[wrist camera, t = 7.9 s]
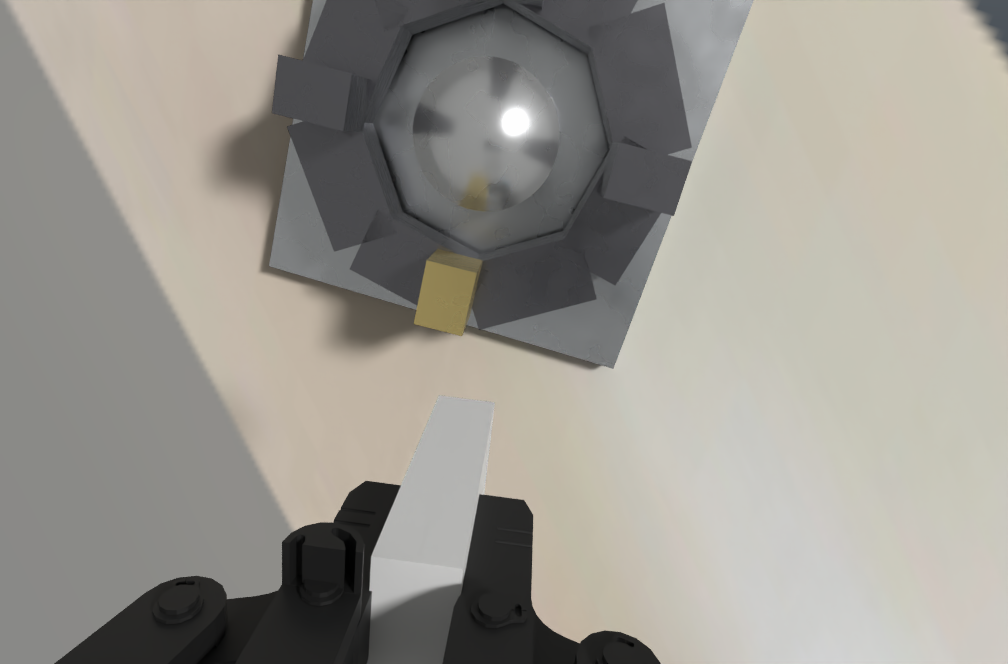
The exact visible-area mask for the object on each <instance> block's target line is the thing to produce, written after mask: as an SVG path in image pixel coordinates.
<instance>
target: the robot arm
mask: <svg viewBox="0 0 1008 664" xmlns="http://www.w3.org/2000/svg"><path fill="white" fill-rule="evenodd" d="M494 405H495V402H487V401H479V400H472V399H464V398H456V397H448V396H440V395H439V397H438V399H437V401H436V404H435V406H434V409H433V411H432V413H431V416H430V418H429V420H428V423H427V425H426V428H425V430H424V432H423V435H422V437H421V439H420V442H419V444H418V446H417V449H416V451H415V454H414V456H413V458H412V461H411V463H410V465H409V468H408V470H407V473H406V475H405V477H404V480H403V482H402V484H401V485H393V484H386V483H378V482H371V481H365V482H364V483H362V484H361V485H359V486H358V487H357V488H355V489H354V490H352V491H351V492H349V494H348V496H347V498H346V500H345V501H344V503H343V505H342V507H341V510H339V512H338V514H337V515H336V517H335V519H334V523H316V524H312V525H307V526H304V527H302V528H300V529H298V530H296V531H294V532H292V533H291V534H290V535H289V536H288V537H287V538H286V539H285V540H284V541H283V542H282V585H281V587H280V589H279V590H278V591H275V592H272V593H269V594H265V595H260V596H253V597H245V598H235V599H227V595H226V593H225V591H224V588H223V586H222V585H221V584H219V583H218V582H216V581H215V580H213V579H211V578H205V577H200V576H191V577H181V578H176V579H173V580H170V581H167V582H164V583H161V584H159V585H158V586H156V587H154V588H153V589H151V590H149V591H148V592H146V593H145V594H143V595H142V596H141V597H139V598H138V599H137V600H136V601H135V602H133V603H132V604H130V605H129V606H128V607H127V608H125V609H124V610H123V611H122V612H120V613H119V614H118V615H116V616H115V617H114V618H112V619H111V620H110V621H109V622H107V623H106V624H105V625H104V626H102V627H101V628H100V629H98V630H97V631H96V632H94V633H93V634H92V635H91V636H89V637H88V638H87V639H85V640H84V641H83V642H82V643H80V644H79V645H78V646H77V647H75V648H74V649H73V650H71V651H70V652H69V653H68V654H66V655H65V656H64V657H62V658H61V659H60V660H58V661H57V662H56V663H55V664H661V663H660V662H659V660H658V659H657V658H656V656H655V655H654V653H653V652H652V651H651V649H649V648H648V647H647V646H646V645H644V644H643V643H642V642H640V641H639V640H638V639H636V638H634V637H631V636H629V635H626V634H624V633H621V632H613V631H601V632H597V633H593V634H590V635H589V636H588V637H586V638H585V639H584V640H582V641H581V643H577V642H575V641H572V640H570V639H568V638H565V637H563V636H561V635H559V634H557V633H556V632H554V631H552V630H551V629H550V628H548V627H547V626H546V625H545V624H543V622H542V621H541V620H540V619H539V618H538V616H537V615H536V613H535V611H534V609H533V607H532V601H531V579H532V541H533V535H532V534H533V514H532V512H531V511H530V509H529V507H528V506H527V504H526V502H525V501H524V500H519V499H511V498H504V497H496V496H489V495H484V491H485V483H486V474H487V466H488V457H489V448H490V440H491V431H492V422H493V414H494Z"/></svg>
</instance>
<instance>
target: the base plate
mask: <svg viewBox="0 0 1008 664" xmlns="http://www.w3.org/2000/svg"><path fill="white" fill-rule="evenodd" d="M325 3H326V0H313V3H312V9H311V15H310V21H309V27H308V33H307V39H306V45H305V51H304V56H305V54H306V51H307V49H308V46H309V43H310V41H311V38H312V36H313V33H314V31H315V28H316V26H317V23H318V21H319V18H320V15H321V13H322V10H323V8H324V5H325ZM661 3H665V8H666V13H667V19H668V24H669V29H670V34H671V40H672V45H673V50H674V56H675V61H676V66H677V71H678V77H679V82H680V87H681V92H682V98H683V103H684V108H685V114H686V119H687V124H688V129H689V135H690V140H691V145H692V148H689V149H685V150H682V151H678V152H675V153H671V154H668V155H670V156H674V157H678V158H682V159H686V160H690V161H693V158H694V155H695V153H696V150H697V147H698V145H699V142H700V140H701V137H702V134H703V132H704V129H705V126H706V124H707V121H708V119H709V116H710V113H711V111H712V108H713V105H714V103H715V100H716V98H717V95H718V92H719V90H720V87H721V84H722V82H723V79H724V77H725V74H726V71H727V69H728V66H729V63H730V61H731V58H732V56H733V53H734V50H735V48H736V45H737V42H738V40H739V37H740V34H741V32H742V29H743V27H744V24H745V21H746V19H747V16H748V13H749V11H750V8H751V6H752V3H753V0H638V1H637V3H636V5H635V6H634V8H633V10H632V12H631V13H634V12H637V11H640V10H643V9H646V8H649V7H652V6H655V5H658V4H661ZM303 59H304V57H303ZM299 122H302V121H301V120H297V119H293V124H296V123H299ZM293 124H292V125H293ZM373 125H374V128H375V131H376V134H377V137H378V140H379V143H380V146H381V149H382V152H383V155H384V158H385V161H386V164H387V167H388V170H389V173H390V176H391V179H392V182H393V185H394V188H395V191H396V194H397V197H398V200H399V203H400V205H401V208H402V211H403V212H404V213H406V214H407V215H409V216H411V217H413V218H415V219H416V220H418V221H420V222H422V223H424V224H425V225H427V226H429V227H431V228H433V229H434V230H436V231H438V232H440V233H442V234H443V235H445V236H447V237H449V238H451V239H453V240H454V241H456V242H458V243H460V244H462V245H463V246H465V247H467V248H469V249H471V250H472V251H474V252H476V253H478V254H483V253H486V252H490V251H493V250H497V249H501V248H504V247H508V246H511V245H515V244H518V243H522V242H526V241H529V240H533V239H536V238H540V237H543V236H547V235H551V234H554V233H558V232H561V231H563V230H564V228H565V226H566V225H567V223H568V221H569V220H570V218H571V216H572V214H573V213H574V211H575V209H576V208H577V206H578V204H579V202H580V201H581V199H582V197H583V196H584V194H585V192H586V190H587V189H588V187H589V185H590V184H591V182H592V180H593V178H594V177H595V175H596V173H597V171H598V170H599V168H600V166H601V165H602V163H603V161H604V159H605V158H606V156H607V154H608V153H609V151H610V150H609V145H608V141H607V136H606V132H605V128H604V123H603V119H602V115H601V110H600V106H599V101H598V97H597V93H596V88H595V84H594V80H593V75H592V71H591V66H590V62H589V58H588V54H586V53H585V52H583V51H581V50H580V49H578V48H576V47H575V46H573V45H571V44H570V43H568V42H566V41H565V40H563V39H561V38H560V37H558V36H556V35H555V34H553V33H551V32H550V31H548V30H547V29H545V28H543V27H542V26H540V25H538V24H537V23H535V22H533V21H532V20H530V19H528V18H527V17H525V16H523V15H522V14H520V13H518V12H517V11H515V10H513V9H512V8H510V7H508V6H507V5H505V4H501V5H498V6H495V7H492V8H489V9H486V10H483V11H480V12H477V13H474V14H471V15H469V16H466V17H463V18H460V19H457V20H454V21H451V22H448V23H445V24H442V25H439V26H436V27H433V28H431V29H428V30H425V31H422V32H419V33H416V34H413V35H412V37H411V39H410V41H409V43H408V46H407V48H406V50H405V52H404V55H403V57H402V59H401V61H400V64H399V66H398V68H397V70H396V73H395V75H394V77H393V79H392V82H391V84H390V86H389V88H388V91H387V93H386V95H385V97H384V100H383V102H382V104H381V106H380V109H379V111H378V113H377V115H376V118H375V120H374V122H373ZM671 216H672V215H668V214H664V213H661V214H660V216H659V218H658V219H657V221H656V222H655V224H654V225H653V227H652V229H651V230H650V232H649V233H648V235H647V237H646V238H645V240H644V241H643V243H642V244H641V246H640V248H639V249H638V251H637V252H636V254H635V255H634V257H633V259H632V260H631V262H630V263H629V265H628V267H627V268H626V270H625V271H624V273H623V274H622V276H621V278H620V279H619V281H618V282H617V284H616V286H615V285H613V284H611V283H610V282H608V281H606V280H604V279H602V278H601V277H599V276H597V275H595V274H594V273H592V272H590V274H591V278H592V282H593V286H594V290H595V294H596V298H597V299H596V300H592V301H588V302H585V303H581V304H577V305H573V306H569V307H565V308H562V309H558V310H554V311H550V312H546V313H542V314H539V315H535V316H531V317H527V318H523V319H519V320H515V321H512V322H508V323H504V324H500V325H496V326H492V327H489V328H485V329H482V330H485V331H489V332H492V333H495V334H499V335H502V336H505V337H509V338H512V339H515V340H519V341H522V342H526V343H529V344H532V345H536V346H539V347H542V348H546V349H549V350H552V351H556V352H559V353H562V354H566V355H569V356H573V357H576V358H579V359H583V360H586V361H589V362H593V363H596V364H599V365H603V366H606V367H609V368H614V365H615V363H616V360H617V357H618V355H619V352H620V350H621V347H622V344H623V342H624V339H625V336H626V334H627V331H628V329H629V326H630V323H631V321H632V318H633V315H634V313H635V310H636V308H637V305H638V302H639V300H640V297H641V294H642V292H643V289H644V287H645V284H646V281H647V279H648V276H649V273H650V271H651V268H652V266H653V263H654V260H655V258H656V255H657V252H658V250H659V247H660V245H661V242H662V239H663V237H664V234H665V231H666V229H667V226H668V224H669V221H670V218H671ZM360 245H361V244H359V245H356V246H352V247H349V248H345V249H342V250H339V251H335V252H334V250H333V248H332V245H331V242H330V240H329V237H328V234H327V232H326V229H325V226H324V224H323V221H322V218H321V216H320V213H319V210H318V208H317V205H316V202H315V200H314V197H313V195H312V192H311V189H310V187H309V184H308V181H307V179H306V176H305V173H304V171H303V168H302V165H301V163H300V160H299V157H298V155H297V152H296V149H295V147H294V144H293V141H292V139H291V136H290V142H289V148H288V154H287V160H286V166H285V172H284V178H283V184H282V190H281V197H280V203H279V209H278V215H277V221H276V227H275V233H274V239H273V245H272V251H271V257H270V263H269V266H270V267H274V268H277V269H280V270H284V271H287V272H290V273H294V274H297V275H300V276H304V277H307V278H311V279H314V280H317V281H321V282H324V283H327V284H331V285H334V286H337V287H341V288H344V289H348V290H351V291H354V292H358V293H361V294H364V295H368V296H371V297H374V298H378V299H381V300H384V301H388V302H391V303H395V304H398V305H401V306H405V307H408V308H411V309H415V310H417V305H415V304H413V303H411V302H410V301H408V300H406V299H404V298H402V297H400V296H398V295H397V294H395V293H393V292H391V291H389V290H387V289H385V288H384V287H382V286H380V285H378V284H376V283H374V282H372V281H371V280H369V279H367V278H365V277H363V276H361V275H359V274H357V273H356V272H354V271H352V270H350V267H351V265H352V262H353V260H354V258H355V256H356V254H357V252H358V250H359V248H360ZM467 325H468V326H472V327H475V328H478V325H477V322H476V319H475V316H474V312H473V309H471V313H470V317H469V320H468V323H467Z"/></svg>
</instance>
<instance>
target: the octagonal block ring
mask: <svg viewBox="0 0 1008 664" xmlns="http://www.w3.org/2000/svg"><path fill="white" fill-rule="evenodd" d="M637 1H638V0H326V3H325V5H324V8H323V10H322V13H321V15H320V18H319V21H318V23H317V26H316V28H315V31H314V33H313V36H312V38H311V41H310V43H309V46H308V49H307V51H306V54H305V56H304V59H303V61H302V60H298V59H294V58H290V57H286V56H282V55H278V62H277V71H276V81H275V90H274V99H273V108H272V113H274V114H278V115H282V116H286V117H290V118H293V119H297V120H301V121H302V122H299V123H296V124H293V125H290V126H287V128H288V131H289V133H290V136H291V139H292V141H293V144H294V147H295V149H296V152H297V155H298V157H299V160H300V163H301V165H302V168H303V171H304V173H305V176H306V179H307V181H308V184H309V187H310V189H311V192H312V195H313V197H314V200H315V202H316V205H317V208H318V210H319V213H320V216H321V218H322V221H323V224H324V226H325V229H326V232H327V234H328V237H329V240H330V242H331V245H332V248H333V250H334V252H335V251H339V250H342V249H345V248H349V247H352V246H356V245H359V244H361V245H360V248H359V250H358V252H357V254H356V256H355V258H354V260H353V262H352V265H351V267H350V270H352V271H354V272H356V273H357V274H359V275H361V276H363V277H365V278H367V279H369V280H371V281H372V282H374V283H376V284H378V285H380V286H382V287H384V288H385V289H387V290H389V291H391V292H393V293H395V294H397V295H398V296H400V297H402V298H404V299H406V300H408V301H410V302H411V303H413V304H415V305H417V310H416V315H415V319H414V324H416V325H420V326H424V327H428V328H432V329H436V330H440V331H444V332H447V333H451V334H455V335H459V336H462V335H463V332H464V330H465V327H466V325H467V323H468V320H469V317H470V313H471V309H473V312H474V316H475V319H476V322H477V325H478V328H479V330H481V329H485V328H489V327H492V326H496V325H500V324H504V323H508V322H512V321H515V320H519V319H523V318H527V317H531V316H535V315H539V314H542V313H546V312H550V311H554V310H558V309H562V308H565V307H569V306H573V305H577V304H581V303H585V302H588V301H592V300H596V299H597V298H596V294H595V290H594V286H593V282H592V278H591V274H590V272H592V273H594V274H595V275H597V276H599V277H601V278H602V279H604V280H606V281H608V282H610V283H611V284H613V285H615V286H616V284H617V282H618V281H619V279H620V278H621V276H622V274H623V273H624V271H625V270H626V268H627V267H628V265H629V263H630V262H631V260H632V259H633V257H634V255H635V254H636V252H637V251H638V249H639V248H640V246H641V244H642V243H643V241H644V240H645V238H646V237H647V235H648V233H649V232H650V230H651V229H652V227H653V225H654V224H655V222H656V221H657V219H658V218H659V216H660V214H661V213H664V214H668V215H672V216H674V214H675V211H676V208H677V205H678V202H679V199H680V196H681V193H682V190H683V187H684V184H685V181H686V178H687V175H688V172H689V169H690V166H691V163H692V161H690V160H686V159H682V158H678V157H674V156H670V155H668V154H671V153H675V152H678V151H682V150H685V149H689V148H692V145H691V140H690V135H689V129H688V124H687V119H686V114H685V108H684V103H683V98H682V92H681V87H680V82H679V77H678V71H677V66H676V61H675V56H674V50H673V45H672V40H671V34H670V29H669V24H668V19H667V13H666V8H665V3H661V4H658V5H655V6H652V7H649V8H646V9H643V10H640V11H637V12H634V13H631V12H632V10H633V8H634V6H635V5H636V3H637ZM501 4H505V5H507V6H508V7H510V8H512V9H513V10H515V11H517V12H518V13H520V14H522V15H523V16H525V17H527V18H528V19H530V20H532V21H533V22H535V23H537V24H538V25H540V26H542V27H543V28H545V29H547V30H548V31H550V32H551V33H553V34H555V35H556V36H558V37H560V38H561V39H563V40H565V41H566V42H568V43H570V44H571V45H573V46H575V47H576V48H578V49H580V50H581V51H583V52H585V53H586V54H588V58H589V62H590V66H591V71H592V75H593V80H594V84H595V88H596V93H597V97H598V101H599V106H600V110H601V115H602V119H603V123H604V128H605V132H606V136H607V141H608V145H609V150H610V151H609V153H608V154H607V156H606V158H605V159H604V161H603V163H602V165H601V166H600V168H599V170H598V171H597V173H596V175H595V177H594V178H593V180H592V182H591V184H590V185H589V187H588V189H587V190H586V192H585V194H584V196H583V197H582V199H581V201H580V202H579V204H578V206H577V208H576V209H575V211H574V213H573V214H572V216H571V218H570V220H569V221H568V223H567V225H566V226H565V228H564V230H563V231H561V232H558V233H554V234H551V235H547V236H543V237H540V238H536V239H533V240H529V241H526V242H522V243H518V244H515V245H511V246H508V247H504V248H501V249H497V250H493V251H490V252H486V253H483V254H478V253H476V252H474V251H472V250H471V249H469V248H467V247H465V246H463V245H462V244H460V243H458V242H456V241H454V240H453V239H451V238H449V237H447V236H445V235H443V234H442V233H440V232H438V231H436V230H434V229H433V228H431V227H429V226H427V225H425V224H424V223H422V222H420V221H418V220H416V219H415V218H413V217H411V216H409V215H407V214H406V213H404V212H403V211H402V208H401V205H400V203H399V200H398V197H397V194H396V191H395V188H394V185H393V182H392V179H391V176H390V173H389V170H388V167H387V164H386V161H385V158H384V155H383V152H382V149H381V146H380V143H379V140H378V137H377V134H376V131H375V128H374V125H373V122H374V120H375V118H376V115H377V113H378V111H379V109H380V106H381V104H382V102H383V100H384V97H385V95H386V93H387V91H388V88H389V86H390V84H391V82H392V79H393V77H394V75H395V73H396V70H397V68H398V66H399V64H400V61H401V59H402V57H403V55H404V52H405V50H406V48H407V46H408V43H409V41H410V39H411V37H412V35H413V34H416V33H419V32H422V31H425V30H428V29H431V28H433V27H436V26H439V25H442V24H445V23H448V22H451V21H454V20H457V19H460V18H463V17H466V16H469V15H471V14H474V13H477V12H480V11H483V10H486V9H489V8H492V7H495V6H498V5H501Z"/></svg>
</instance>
